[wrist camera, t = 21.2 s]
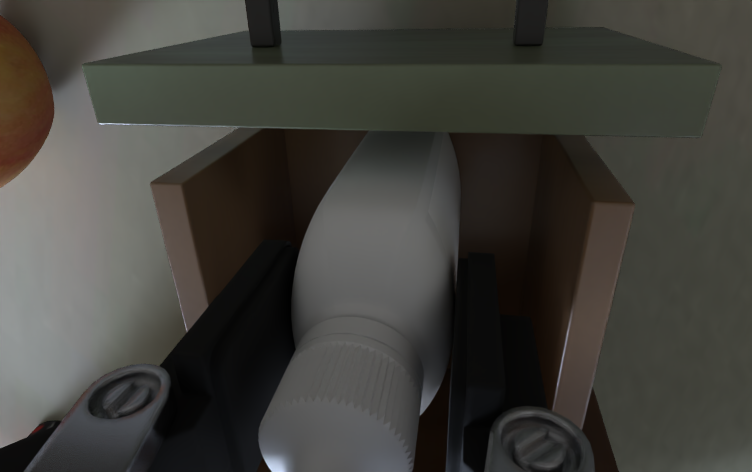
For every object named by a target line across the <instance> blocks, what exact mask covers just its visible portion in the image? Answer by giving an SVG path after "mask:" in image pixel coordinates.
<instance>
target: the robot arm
mask: <svg viewBox="0 0 752 472" xmlns="http://www.w3.org/2000/svg"><path fill="white" fill-rule="evenodd" d="M298 256H299V249H298V248H297V247H292V245H291V242H290V241H284V240H268V239H265V240H263V241H262V242H261V244H260V245H259V246H258V247H257V248H256V250H255V251H254V252H253V253H252V255H251V256H250V257H249V258H248V259H247V261H246V262H245V263H244V264H243V266H242V267H241V268H240V269H239V270H238V272H237V273H236V274H235V275H234V277H233V278H232V279H231V280H230V282H229V283H228V284H227V285H226V286H225V288H224V289H223V290H222V291H221V293H220V294H219V295H218V296H216V298H215V299H214V300H213V301H212V303H211V304H210V305H209V306H208V307H207V309H206V310H205V311H204V312H203V314H202V315H201V316H200V317H199V318H198V320H197V321H196V322H195V323H194V325H193V326H192V327H191V328H190V329H189V331H188V332H187V333H186V334H185V336H184V337H183V338H182V339H181V340H180V342H179V343H178V344H177V345H176V347H175V348H174V349H173V350H172V351H171V353H170V354H169V355H168V356H167V358H166V359H165V360H164V361H163V362H162V364H161V365H160V366H157V365H152V364H136V365H130V366H126V367H123V368H119V369H116V370H114V371H112V372H110V373H108V374H106V375H104V376H102V377H101V378H100V379H98V380H97V381H95V382H94V383H92V384H91V385H90V386H89V388H88V389H87V390H86V391H85V392H84V393H83V394H82V395H81V397H80V398H79V399H78V401H77V402H76V403H75V404H74V406H73V407H72V408H71V410H70V411H69V412H68V414H67V415H66V416H65V418H64V419H63V420H62V422H61V423H60V424H59V425H56V426H54V427H51V428H49V429H46V430H44V431H42V432H39V433H37V434H34V435H32V436H30V437H27V438H25V439H22V440H20V441H17V442H15V443H13V444H10V445H8V446H5V447H3V448H0V472H256V471H257V469H258V467H259V465H260V462H261V460H262V458H263V456H262V453H261V450H260V447H259V441H258V439H259V436H258V433H259V427H260V423H261V421H262V419H263V417H264V415H265V413H266V411H267V409H268V407H269V404H270V402H271V400H272V398H273V396H274V394H275V392H276V390H277V388H278V386H279V384H280V382H281V379H282V377H283V375H284V373H285V371H286V369H287V367H288V365H289V363H290V361H291V358H292V356H293V354H294V352H295V350H296V348H295V344H294V338H293V332H292V321H291V297H292V286H293V279H294V273H295V268H296V264H297V260H298ZM446 472H595V466H594V455H593V452H592V448H591V444H590V442H589V440H588V439H587V437H586V436H585V434H584V433H583V431H582V430H581V429H580V428H579V427H578V426H576V425H575V424H574V423H573V422H572V421H571V420H569V419H568V418H566V417H564V416H562V415H561V414H559V413H557V412H555V411H552V410H548V408H547V402H546V397H545V391H544V386H543V380H542V375H541V369H540V364H539V358H538V353H537V347H536V341H535V336H534V330H533V325H532V321H531V318H530V317H528V316H516V315H504V314H499V302H498V290H497V279H496V267H495V256H494V253H479V252H468V258H458V266H457V282H456V299H455V317H454V334H453V347H452V363H451V382H450V400H449V419H448V438H447V457H446Z"/></svg>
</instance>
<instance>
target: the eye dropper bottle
mask: <svg viewBox="0 0 752 472" xmlns="http://www.w3.org/2000/svg"><path fill="white" fill-rule="evenodd" d="M460 203H461V186H460V174H459V168H458V162H457V158H456V154H455V150H454V147H453V144H452V141H451V138H450V136H449V133H448V132H411V131H368V133H367V134H366V135H365V137H364V138H363V140H362V141H361V143H360V144H359V145H358V147H357V148H356V150H355V151H354V153H353V154H352V155H351V157H350V158H349V160H348V161H347V163H346V164H345V166H344V167H343V169H342V170H341V172H340V173H339V174H338V176H337V177H336V179H335V180H334V182H333V183H332V185H331V186H330V188H329V189H328V191H327V193H326V194H325V196H324V197H323V199H322V201H321V202H320V204H319V205H318V207H317V209H316V211H315V213H314V215H313V217H312V219H311V222H310V224H309V226H308V229H307V231H306V234H305V236H304V239H303V242H302V245H301V249H300V252H299V256H298V260H297V264H296V268H295V273H294V279H293V286H292V297H291V321H292V332H293V338H294V344H295V348H296V350H295V352H294V354H293V356H292V358H291V361H290V363H289V365H288V367H287V369H286V371H285V373H284V375H283V377H282V379H281V382H280V384H279V386H278V388H277V390H276V392H275V394H274V396H273V398H272V400H271V402H270V404H269V407H268V409H267V411H266V413H265V415H264V417H263V419H262V421H261V423H260V427H259V433H258V436H259V439H258V441H259V447H260V450H261V453H262V456H263V458H264V460H265V462H266V464H267V465H268V467H269V469H270V470H271V471H272V472H412V471H413V467H414V458H415V450H416V441H417V433H418V424H419V416H420V415H421V414H422V413H423V412H424V411H425V410H426V408H427V407H428V406H429V404H430V403H431V401H432V400H433V398H434V396H435V395H436V393H437V391H438V389H439V387H440V385H441V383H442V381H443V378H444V375H445V373H446V370H447V366H448V363H449V359H450V355H451V350H452V344H453V334H454V317H455V299H456V282H457V266H458V247H459V226H460Z"/></svg>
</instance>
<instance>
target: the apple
mask: <svg viewBox="0 0 752 472" xmlns="http://www.w3.org/2000/svg"><path fill="white" fill-rule="evenodd" d="M53 118H54V101H53V95H52V90H51V86H50V83H49V80H48V77H47V74H46V72H45V69H44V67H43V65H42V63H41V61H40V59H39V58H38V56H37V54H36V53H35V51H34V49H33V48H32V47H31V45H30V44H29V43H28V41H27V40H26V39H25V38H24V36H23V35H22V34H21V33H20V32H19V31H18V30H17V29H16V28H15V27H14V26H13V25H12V24H11V23H10V22H8V21H7V20H6V19H5V18H3V17H2V16H1V15H0V188H1V187H3V186H4V185H6V184H7V183H8V182H10V181H11V180H13V179H14V178H15V177H16V176H18V175H19V174H20V173H21V172H22V171H23V170H24V169H25V168H26V167H27V166H28V165H29V164H30V162H31V161H32V160H33V159H34V157H35V156H36V155H37V153H38V152H39V150H40V149H41V147H42V145H43V144H44V142H45V140H46V138H47V136H48V134H49V131H50V129H51V126H52V122H53Z"/></svg>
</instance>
